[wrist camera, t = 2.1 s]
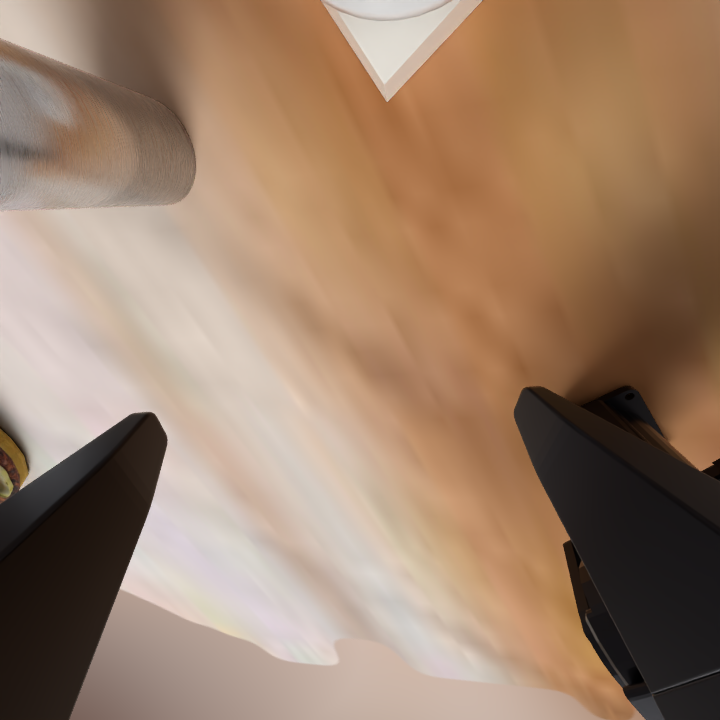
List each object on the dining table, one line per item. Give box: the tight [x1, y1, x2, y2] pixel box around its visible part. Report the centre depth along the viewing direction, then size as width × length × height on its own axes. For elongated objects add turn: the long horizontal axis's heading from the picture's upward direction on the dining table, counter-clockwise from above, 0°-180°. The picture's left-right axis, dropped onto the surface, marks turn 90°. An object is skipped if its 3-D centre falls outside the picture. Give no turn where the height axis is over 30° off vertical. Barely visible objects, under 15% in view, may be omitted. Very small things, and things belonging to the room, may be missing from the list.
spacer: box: [0, 38, 196, 211], centre depth 11 cm, size 5×5×12 cm
